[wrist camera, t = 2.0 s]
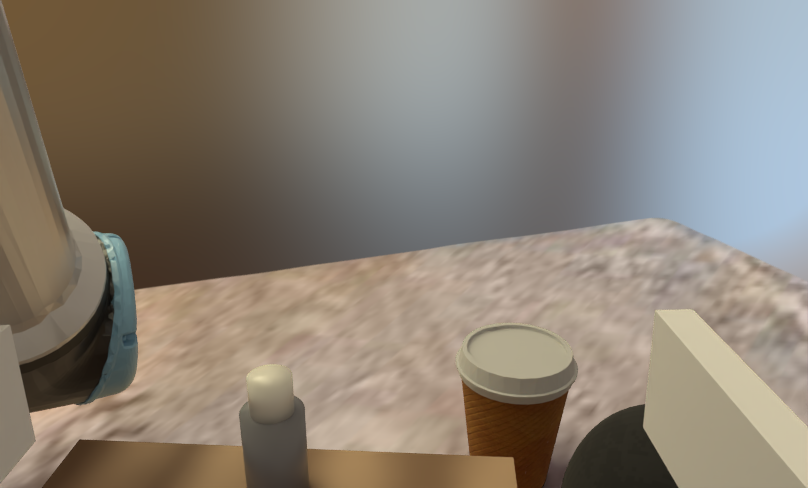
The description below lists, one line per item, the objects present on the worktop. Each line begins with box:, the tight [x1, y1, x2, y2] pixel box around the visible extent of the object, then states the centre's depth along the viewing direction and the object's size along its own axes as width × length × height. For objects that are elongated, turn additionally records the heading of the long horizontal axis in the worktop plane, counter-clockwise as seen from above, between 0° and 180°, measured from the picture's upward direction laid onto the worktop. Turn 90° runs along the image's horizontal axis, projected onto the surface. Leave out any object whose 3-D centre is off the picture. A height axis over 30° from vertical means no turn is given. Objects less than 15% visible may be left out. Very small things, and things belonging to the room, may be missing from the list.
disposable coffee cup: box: [456, 323, 578, 488], centre depth 57 cm, size 10×10×12 cm
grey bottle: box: [239, 364, 309, 488], centre depth 35 cm, size 3×3×7 cm
